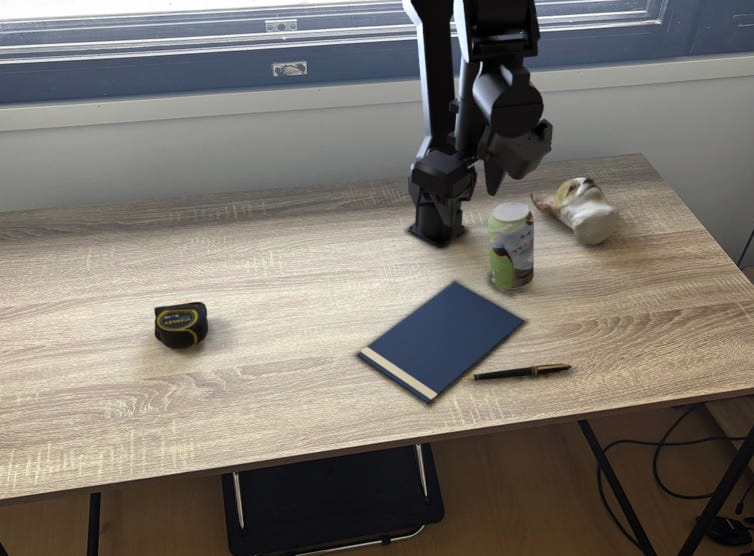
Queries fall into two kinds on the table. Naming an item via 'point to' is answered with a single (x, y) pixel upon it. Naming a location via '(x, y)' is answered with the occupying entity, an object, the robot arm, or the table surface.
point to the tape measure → (181, 324)
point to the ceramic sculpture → (580, 209)
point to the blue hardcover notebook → (440, 341)
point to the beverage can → (511, 244)
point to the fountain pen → (521, 372)
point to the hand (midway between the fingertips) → (470, 209)
